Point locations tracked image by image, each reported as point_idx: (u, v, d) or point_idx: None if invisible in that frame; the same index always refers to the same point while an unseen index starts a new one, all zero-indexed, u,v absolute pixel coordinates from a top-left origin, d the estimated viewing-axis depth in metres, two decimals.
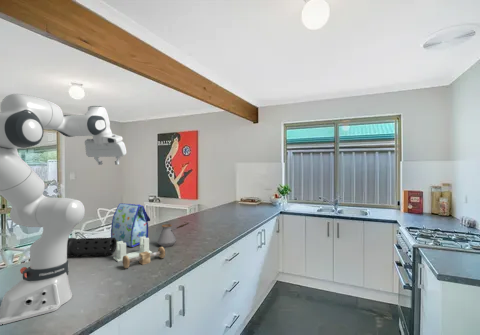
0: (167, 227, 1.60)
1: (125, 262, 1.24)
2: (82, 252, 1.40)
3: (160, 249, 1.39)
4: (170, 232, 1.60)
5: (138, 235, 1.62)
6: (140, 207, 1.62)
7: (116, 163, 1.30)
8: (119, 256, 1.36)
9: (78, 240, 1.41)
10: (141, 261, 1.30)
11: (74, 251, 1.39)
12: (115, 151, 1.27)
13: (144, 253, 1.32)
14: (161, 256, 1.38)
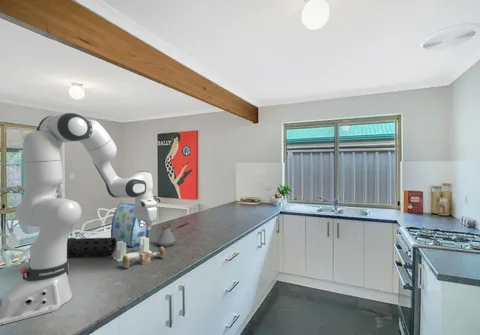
0: (167, 227, 1.60)
1: (125, 262, 1.24)
2: (82, 252, 1.40)
3: (160, 249, 1.39)
4: (170, 232, 1.60)
5: (138, 235, 1.62)
6: None
7: (147, 228, 1.28)
8: (119, 256, 1.36)
9: (78, 240, 1.41)
10: (141, 261, 1.30)
11: (74, 251, 1.39)
12: (146, 215, 1.27)
13: (144, 253, 1.32)
14: (161, 256, 1.38)
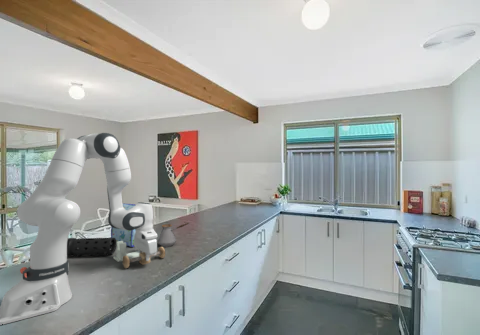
0: (167, 227, 1.60)
1: (125, 262, 1.24)
2: (82, 252, 1.40)
3: (160, 249, 1.39)
4: (170, 232, 1.60)
5: None
6: None
7: (145, 259, 1.29)
8: (119, 256, 1.36)
9: (78, 240, 1.41)
10: (141, 261, 1.30)
11: (74, 251, 1.39)
12: (146, 247, 1.27)
13: (144, 253, 1.32)
14: (161, 256, 1.38)
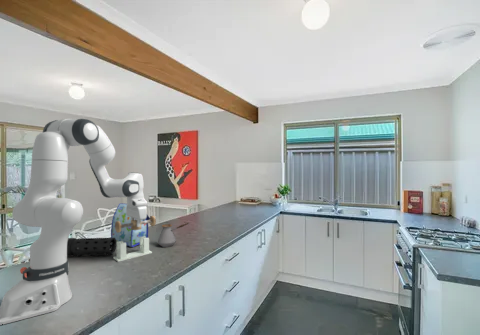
0: (167, 227, 1.60)
1: (117, 227, 1.33)
2: (82, 252, 1.40)
3: (151, 218, 1.47)
4: (170, 232, 1.60)
5: (138, 235, 1.62)
6: None
7: (136, 225, 1.38)
8: (119, 256, 1.36)
9: (78, 240, 1.41)
10: (133, 227, 1.39)
11: (74, 251, 1.39)
12: (137, 213, 1.35)
13: (135, 220, 1.40)
14: (152, 224, 1.46)
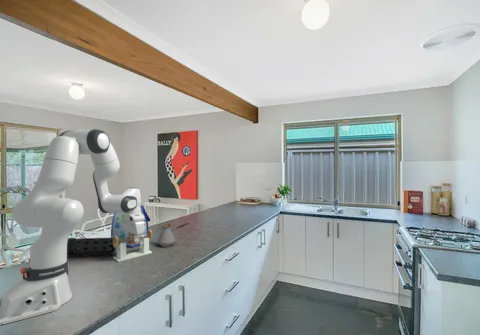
0: (167, 227, 1.60)
1: (114, 242, 1.35)
2: (82, 252, 1.40)
3: (148, 232, 1.49)
4: (170, 232, 1.60)
5: None
6: None
7: (133, 240, 1.40)
8: (119, 256, 1.36)
9: (78, 240, 1.41)
10: (130, 242, 1.41)
11: (74, 251, 1.39)
12: (134, 229, 1.37)
13: (133, 234, 1.42)
14: (149, 238, 1.49)
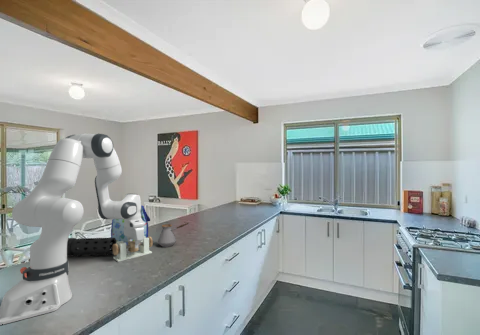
0: (167, 227, 1.60)
1: (114, 249, 1.35)
2: (82, 252, 1.40)
3: None
4: (170, 232, 1.60)
5: None
6: None
7: (134, 246, 1.39)
8: (119, 256, 1.36)
9: (78, 240, 1.41)
10: (130, 249, 1.41)
11: (74, 251, 1.39)
12: (134, 235, 1.37)
13: (133, 242, 1.42)
14: (149, 245, 1.48)
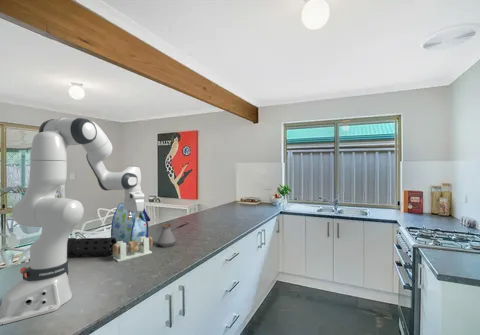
0: (167, 227, 1.60)
1: (114, 249, 1.35)
2: (82, 252, 1.40)
3: None
4: (170, 232, 1.60)
5: (138, 235, 1.62)
6: None
7: (135, 218, 1.39)
8: (119, 256, 1.36)
9: (78, 240, 1.41)
10: (130, 249, 1.41)
11: (74, 251, 1.39)
12: (134, 206, 1.37)
13: (133, 242, 1.42)
14: (149, 245, 1.48)
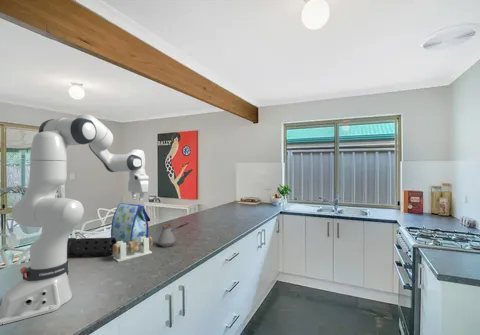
0: (167, 227, 1.60)
1: (114, 249, 1.35)
2: (82, 252, 1.40)
3: None
4: (170, 232, 1.60)
5: (138, 235, 1.62)
6: (140, 207, 1.62)
7: (139, 199, 1.44)
8: (119, 256, 1.36)
9: (78, 240, 1.41)
10: (130, 249, 1.41)
11: (74, 251, 1.39)
12: (138, 187, 1.42)
13: (133, 242, 1.42)
14: (149, 245, 1.48)
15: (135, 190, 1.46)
